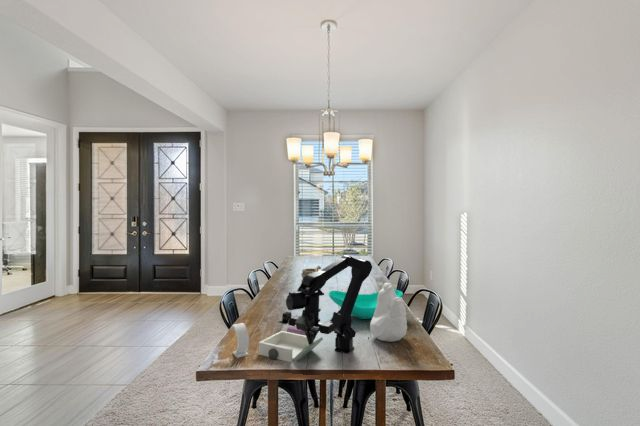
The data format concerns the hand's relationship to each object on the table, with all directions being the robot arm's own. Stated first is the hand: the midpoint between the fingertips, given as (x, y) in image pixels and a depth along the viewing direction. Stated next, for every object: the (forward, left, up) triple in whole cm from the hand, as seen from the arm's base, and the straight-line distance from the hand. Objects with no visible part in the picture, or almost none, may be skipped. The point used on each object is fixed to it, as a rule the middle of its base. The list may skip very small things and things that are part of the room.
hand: (310, 345), depth 158 cm
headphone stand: (+26, +12, -5) cm, 29 cm away
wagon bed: (+12, 0, -5) cm, 13 cm away
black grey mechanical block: (+35, -34, -6) cm, 49 cm away
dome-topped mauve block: (+17, -16, -5) cm, 24 cm away
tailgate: (+4, 0, -4) cm, 6 cm away
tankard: (+59, -100, -5) cm, 116 cm away
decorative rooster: (-21, -33, -5) cm, 39 cm away
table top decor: (+2, -59, -5) cm, 60 cm away
